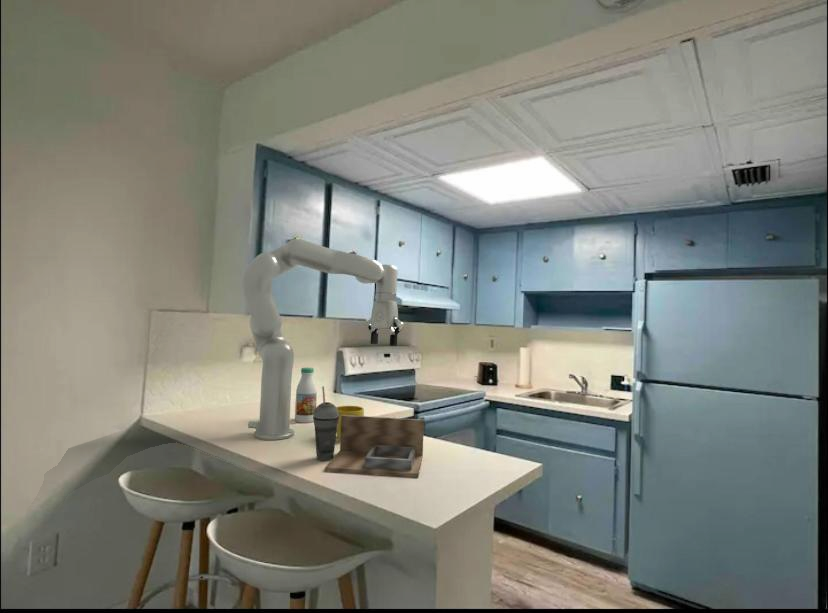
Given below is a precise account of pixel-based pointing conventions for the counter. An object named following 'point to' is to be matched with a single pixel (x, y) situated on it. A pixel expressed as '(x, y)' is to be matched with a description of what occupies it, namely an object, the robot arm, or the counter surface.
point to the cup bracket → (379, 446)
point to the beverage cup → (325, 429)
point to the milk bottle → (305, 397)
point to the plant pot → (347, 411)
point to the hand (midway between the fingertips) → (383, 344)
